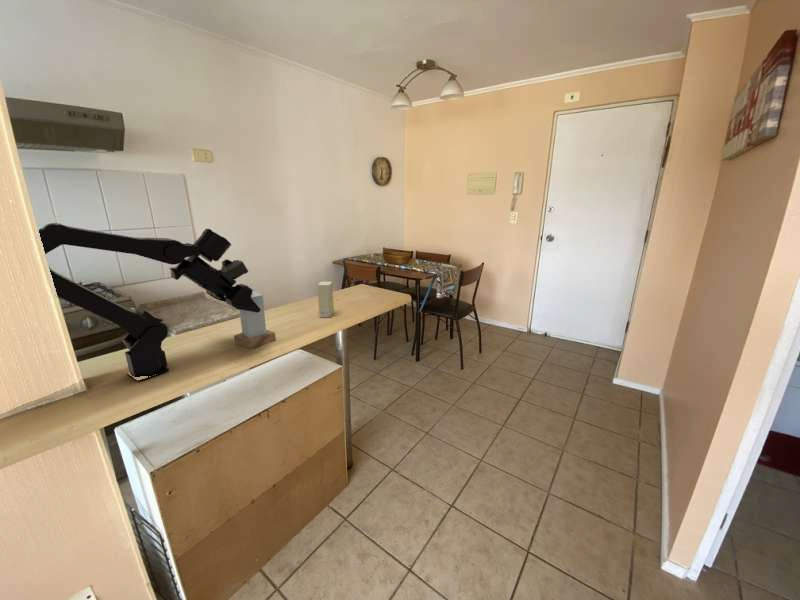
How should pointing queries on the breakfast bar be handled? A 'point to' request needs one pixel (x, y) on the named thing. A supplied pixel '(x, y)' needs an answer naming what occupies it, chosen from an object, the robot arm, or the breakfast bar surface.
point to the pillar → (254, 318)
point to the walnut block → (254, 340)
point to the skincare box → (325, 299)
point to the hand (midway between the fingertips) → (252, 307)
